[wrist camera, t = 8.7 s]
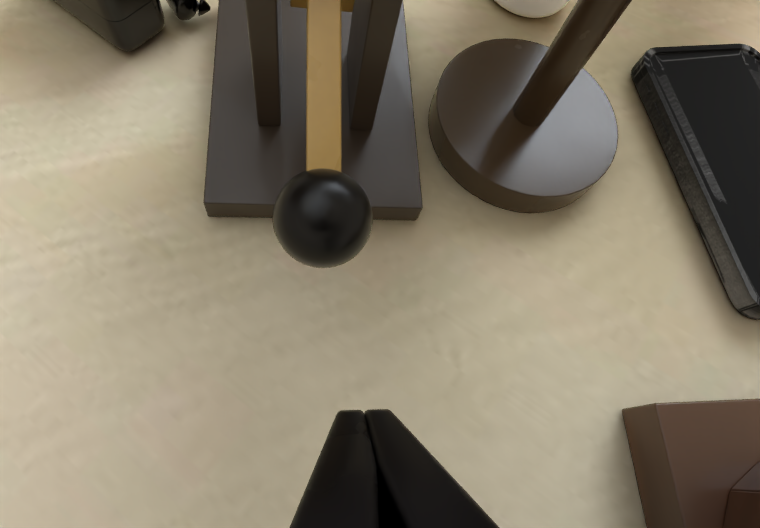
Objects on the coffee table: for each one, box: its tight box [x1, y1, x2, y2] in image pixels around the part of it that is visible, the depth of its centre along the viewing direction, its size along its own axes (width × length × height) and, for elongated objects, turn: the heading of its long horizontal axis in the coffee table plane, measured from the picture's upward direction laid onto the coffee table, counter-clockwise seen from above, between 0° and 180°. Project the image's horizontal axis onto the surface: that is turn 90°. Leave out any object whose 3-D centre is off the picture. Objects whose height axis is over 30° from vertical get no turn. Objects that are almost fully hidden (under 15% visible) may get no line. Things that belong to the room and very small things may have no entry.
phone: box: [631, 44, 760, 319], centre depth 26 cm, size 8×1×15 cm
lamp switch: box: [204, 0, 422, 220], centre depth 20 cm, size 12×9×10 cm
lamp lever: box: [273, 0, 373, 268], centre depth 17 cm, size 12×3×3 cm, turn 3°
